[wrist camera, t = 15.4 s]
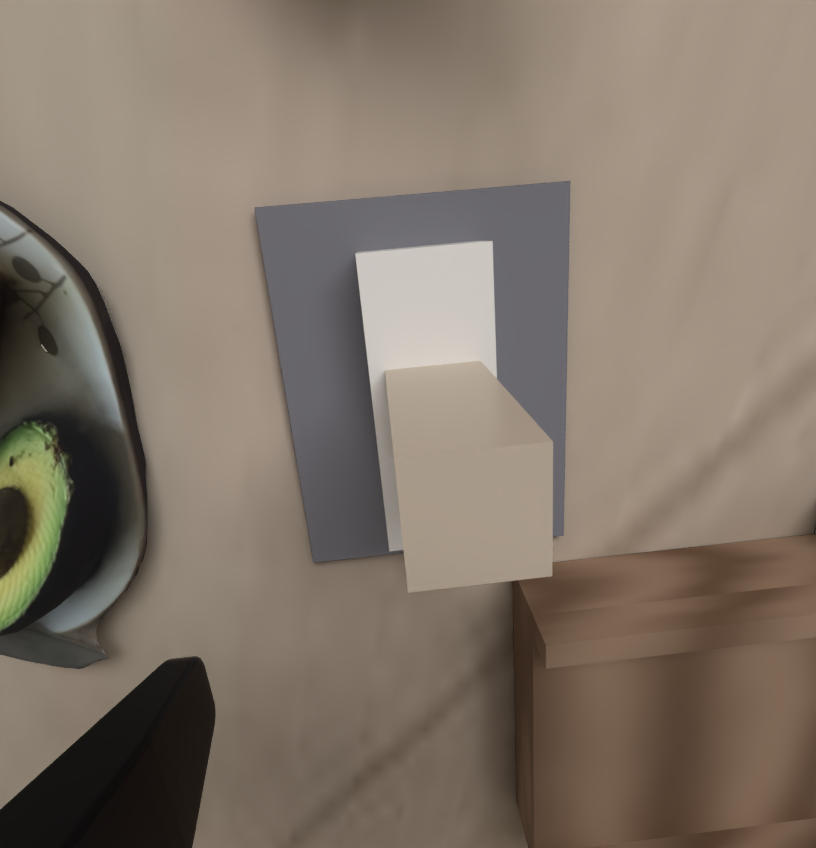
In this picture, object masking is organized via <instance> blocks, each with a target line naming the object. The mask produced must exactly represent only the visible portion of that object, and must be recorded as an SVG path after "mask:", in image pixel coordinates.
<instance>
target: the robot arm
mask: <svg viewBox="0 0 816 848" xmlns="http://www.w3.org/2000/svg"><path fill="white" fill-rule="evenodd" d="M214 725H215V703H214V699H213V695H212V692H211V688H210V684H209V680H208V677H207V673H206V669H205V666H204V663H203V661H202V660H201V658H199V657H196V656H193V657H184V658H175V659H170V660H167V661H165V662H164V663H163V664H161V665H160V666H159V667H158V668H157V669H156V670H155V671H154V672H152V673H151V674H150V675H149V676H148V677H147V678H146V679H145V680H144V681H142V682H141V683H140V684H139V685H138V686H137V687H136V688H135V689H134V690H132V691H131V692H130V693H129V694H128V695H127V696H126V697H125V698H124V699H122V700H121V701H120V702H119V703H118V704H117V705H116V706H115V707H114V708H113V709H111V710H110V711H109V712H108V713H107V714H106V715H105V716H104V717H103V718H101V719H100V720H99V721H98V722H97V723H96V724H95V725H94V726H93V727H91V728H90V729H89V730H88V731H87V732H86V733H85V734H84V735H83V736H81V737H80V738H79V739H78V740H77V741H76V742H75V743H74V744H73V745H71V746H70V747H69V748H68V749H67V750H66V751H65V752H64V753H63V754H61V755H60V756H59V757H58V758H57V759H56V760H55V761H54V762H53V763H51V764H50V765H49V766H48V767H47V768H46V769H45V770H44V771H43V772H41V773H40V774H39V775H38V776H37V777H36V778H35V779H34V780H33V781H31V782H30V783H29V784H28V785H27V786H26V787H25V788H24V789H23V790H21V791H20V792H19V793H18V794H17V795H16V796H15V797H14V798H13V799H12V800H10V801H9V802H8V803H7V804H6V805H5V806H4V807H3V808H2V809H0V848H192V845H193V840H194V835H195V830H196V824H197V819H198V813H199V808H200V802H201V797H202V791H203V786H204V780H205V775H206V769H207V764H208V758H209V753H210V747H211V742H212V736H213V731H214Z"/></svg>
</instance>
